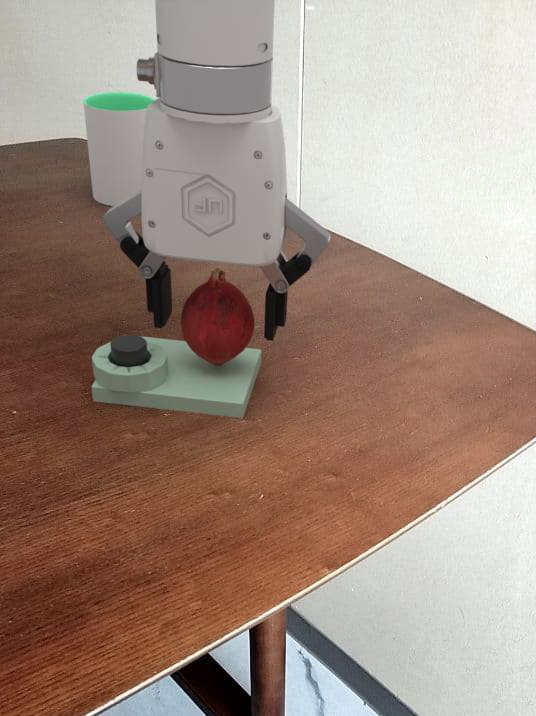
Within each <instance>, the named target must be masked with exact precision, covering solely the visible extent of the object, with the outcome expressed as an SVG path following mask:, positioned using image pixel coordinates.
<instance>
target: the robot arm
mask: <svg viewBox="0 0 536 716" xmlns="http://www.w3.org/2000/svg"><path fill="white" fill-rule="evenodd" d="M275 2H276V0H155V1H154V3H155V27H156V44H157V45H156V46H157V47H156V48H157V51H156V52H155V53H154V56H152V57H148V58H138V59H137V61H136V77H137V81H139V82H147V83H148V84H149V85H153V87H154V90H155V94H156V95H155V96H156V99H155V101H153V102H152V103H150V104H149V105H148V107H147V113H146V120H145V128H144V139H143V155H142V190H140V191H138V192H137V193H135V194H133V195H132V196H130V197H128V198H127V199H125V200H123V201H122V202H120V203H118V204H117V205H115V206H111V207H110V208H109V209H108V210H107V211H106V213H104V215H103V216H102V221H103V223H104V225H105V226H106V228H107V230H108V231H109V232H110V233H111V235H112V237H113V238H114V239H115V241H117V243H118V244H119V248H120V250H121V252H122V253H123V254H124V255H125V256H126V258H128V259H129V260H130V261H131V262H132V263H133V264H134V265H135V267H137V269H138V272H139V273H138V274H140V276H141V277H142V278H144V279H145V290H146V291H145V293H146V308H147V309H146V310H147V312H148V313H153V327H154V328H155V329H162V328H165V326H166V324H167V323H168V321H169V319H170V317H171V315H172V313H173V294H172V292H173V291H172V272H171V268H170V267H169V264H166V261H165V260H166V259H174V260H183V261H190V262H191V261H192V262H201V263H208V264H218V265H219V264H220V265H226V266H227V265H228V266H238V267H250V268H260V269H261V271H262V272H263V274H264V276H265V277H266V279H267V280H268V286H267V289H266V291H265V300H264V328H263V329H264V332H263V338H264V339H266V341H272V342H273V341H274V339H275V336H276V334H277V331H278V327H283V328H284V327H285V326H286V322H287V312H288V293H289V292H288V291H289V288H290V287H291V286H292V285H293V284H294V283H296V282H297V281H298V280H300V279H301V278H302V277H303V276H304V275H306V274H307V273H309V271H311V268H312V266H313V265H314V264H315V263H316V262H317V261H318V259H319V258H320V257H321V255H322V254H323V253H324V252H325V250H326V249H327V248H328V247H329V244H330V240H331V233H330V231H328V230H327V229H326V228H324V226H323V225H321V224H320V223H319V222H317V221H316V220H315V219H313V218H312V217H311V216H310V215H308V214H307V213H305V211H304V210H302V209H301V208H299V206H297V205H296V204H295V203H293V201H291V200H290V199H288V180H287V176H288V175H287V156H286V155H287V154H286V145H285V144H286V143H285V135H284V134H285V133H284V125H283V120H282V113H281V110H280V108H278V106H275V105H272V101H273V100H272V97H273V96H272V95H273V70H274V69H273V67H274V31H275V30H274V29H275V8H276V7H275ZM139 215H141V234H140V233H138V232H137V231H135V230H134V229H135V228H134V226H133V224H132V223H131V220H132V219H134V218H136V217H137V216H139ZM287 228H288V229H289V230H290V231H292V232H293V233H294V234H295V235H297V236H298V237H299V238H300V239H302V240H303V241H304V246H303V247H302V248H301V250H299V251H298V252H297V253H296V254H294V255H293V256H292V257H291V258H290V259H289V260H288V257H287V256H286V255H285V253H284V252H283V250H282V247H283V242H284V241H285V239H286V238H285V237H286V233H287Z"/></svg>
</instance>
